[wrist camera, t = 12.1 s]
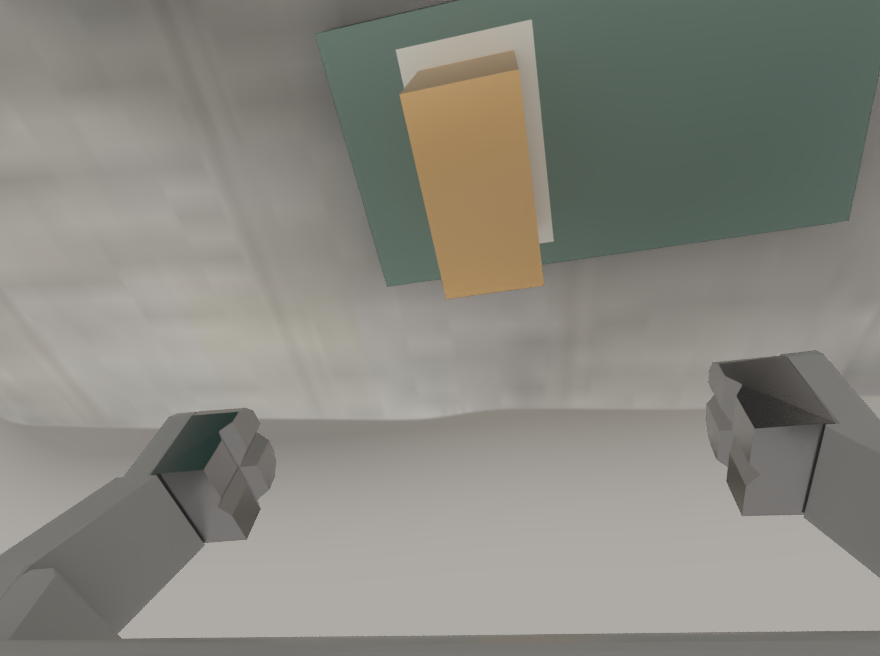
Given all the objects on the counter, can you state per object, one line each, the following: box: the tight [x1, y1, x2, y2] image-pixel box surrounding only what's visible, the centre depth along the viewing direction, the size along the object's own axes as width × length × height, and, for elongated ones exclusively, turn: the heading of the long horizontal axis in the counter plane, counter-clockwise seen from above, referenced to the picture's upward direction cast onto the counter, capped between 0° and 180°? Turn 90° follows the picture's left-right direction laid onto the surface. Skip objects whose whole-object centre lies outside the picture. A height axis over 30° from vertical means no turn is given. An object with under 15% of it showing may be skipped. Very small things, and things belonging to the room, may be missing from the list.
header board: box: [315, 0, 880, 287], centre depth 23 cm, size 22×12×5 cm, turn 102°
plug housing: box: [399, 50, 544, 299], centre depth 22 cm, size 4×8×6 cm, turn 12°
